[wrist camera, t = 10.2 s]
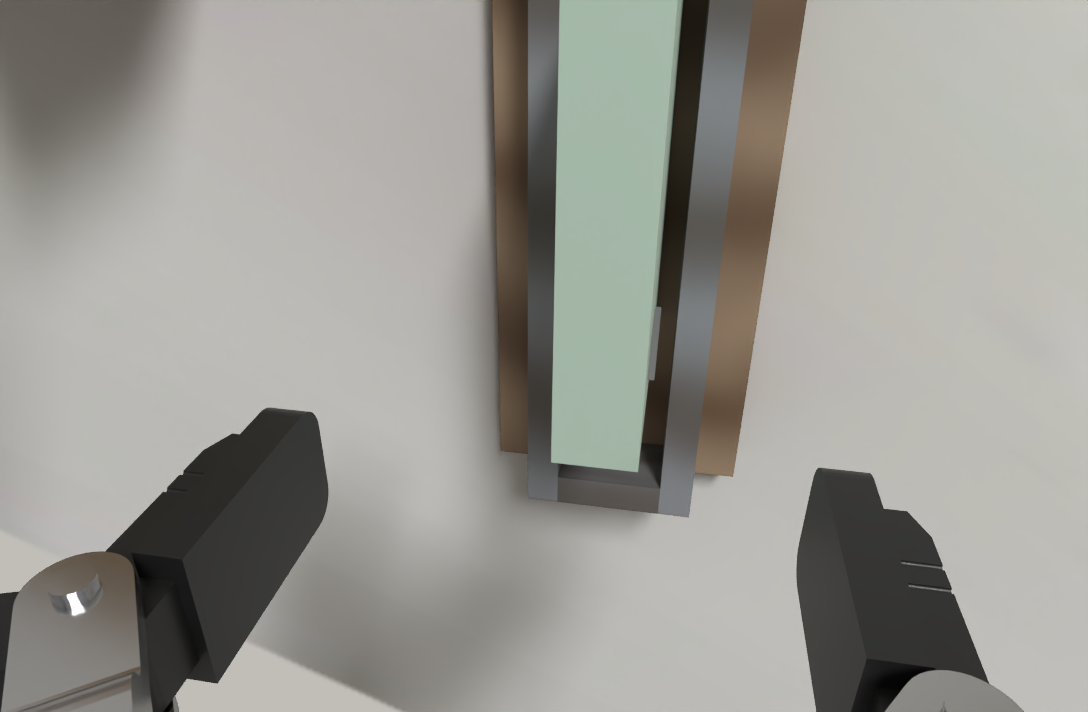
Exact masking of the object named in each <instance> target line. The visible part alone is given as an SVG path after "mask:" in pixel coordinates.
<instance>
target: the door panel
mask: <svg viewBox="0 0 1088 712" xmlns="http://www.w3.org/2000/svg"><path fill="white" fill-rule="evenodd" d="M683 1H684V0H560V7H559V61H558V115H557V169H556V223H555V277H554V331H553V385H552V438H551V462H552V463H560V464H569V465H578V466H587V467H596V468H604V469H613V470H622V471H631V472H638V467H639V459H640V450H641V441H642V433H643V424H644V416H645V407H646V398H647V390H648V381H649V380H654V378H655V368H656V358H657V349H658V339H659V328H660V317H661V307H657V299H658V287H659V276H660V264H661V253H662V242H663V230H664V219H665V207H666V196H667V184H668V173H669V161H670V150H671V139H672V127H673V116H674V104H675V93H676V81H677V70H678V58H679V47H680V36H681V24H682V13H683Z"/></svg>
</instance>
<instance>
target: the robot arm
mask: <svg viewBox="0 0 1088 712" xmlns="http://www.w3.org/2000/svg"><path fill="white" fill-rule="evenodd" d="M327 502H328V482H327V476H326V469H325V463H324V456H323V450H322V443H321V437H320V431H319V425H318V421H317V418H316V416H315V415H314V414H313V413H312V412H305V411H296V410H286V409H277V408H266V409H264V410H263V411H261V412H260V413H259V414H258V416H257V417H256V418H255V419H254V420H253V421H252V422H251V423H250V424H249V425H248V426H247V427H246V428H245V430H244V431H243V432H242V433H241V434H240V435H239V434H231V435H229V436H228V437H226V438H224V439H222V440H221V441H219V442H217V443H215V444H214V445H212V446H210V447H208V448H207V449H205V450H203V451H202V452H201V453H200V454H199V455H198V456H197V457H196V459H195V460H194V461H193V462H192V463H191V464H190V465H189V466H188V467H187V468H186V469H185V470H184V473H183V475H179V476H178V477H177V478H176V479H175V480H174V481H173V482H172V483H171V484H170V485H169V486H168V487H167V492H163V493H162V494H161V495H160V496H159V497H158V498H157V499H156V500H155V501H154V502H153V503H152V504H151V505H150V506H149V507H148V508H147V509H146V510H145V511H144V512H143V513H142V514H141V515H140V516H139V517H138V518H137V519H136V520H135V521H134V522H133V524H132V525H131V526H130V527H129V528H128V529H127V530H126V531H125V532H124V533H123V534H122V535H121V536H120V537H119V538H118V539H117V540H116V541H115V542H114V543H113V544H112V545H111V546H110V547H109V548H108V549H107V550H106V551H105V552H90V553H84V554H80V555H75V556H72V557H69V558H66V559H64V560H62V561H59V562H57V563H55V564H53V565H51V566H49V567H47V568H46V569H44V570H43V571H41V572H39V573H38V574H37V575H36V576H34V577H33V578H32V579H31V580H29V582H27V583H26V584H25V585H24V586H23V588H22V589H21V590H20V592H12V593H2V594H0V712H179V707H178V703H177V700H176V697H175V695H176V693H177V692H178V690H179V689H180V687H181V686H182V685H183V683H184V682H185V680H186V679H193V680H199V681H205V682H211V683H218V682H219V680H220V679H221V677H222V676H223V674H224V673H225V671H226V670H227V668H228V666H229V665H230V663H231V662H232V660H233V659H234V657H235V655H236V654H237V652H238V651H239V649H240V648H241V646H242V645H243V643H244V642H245V640H246V639H247V637H248V635H249V634H250V632H251V631H252V629H253V628H254V626H255V625H256V623H257V622H258V620H259V618H260V617H261V615H262V614H263V612H264V611H265V609H266V608H267V606H268V605H269V603H270V601H271V600H272V598H273V597H274V595H275V594H276V592H277V591H278V589H279V588H280V586H281V584H282V583H283V581H284V580H285V578H286V577H287V575H288V574H289V572H290V570H291V569H292V567H293V566H294V564H295V563H296V561H297V560H298V558H299V557H300V555H301V553H302V552H303V550H304V549H305V547H306V546H307V544H308V543H309V541H310V540H311V538H312V536H313V535H314V533H315V532H316V530H317V529H318V527H319V526H320V524H321V522H322V520H323V517H324V515H325V511H326V508H327ZM942 566H943V565H942V562H941V560H940V557H939V555H938V552H937V550H936V547H935V545H934V542H933V539H932V537H931V536H930V535H929V534H928V533H927V532H926V531H925V530H924V529H923V528H922V527H921V526H920V525H919V524H918V522H917V521H916V520H915V519H914V518H913V517H912V516H911V515H910V514H909V513H908V512H907V511H898V510H890V509H883V505H882V502H881V499H880V496H879V493H878V490H877V487H876V484H875V481H874V478H873V476H872V475H871V474H870V473H863V472H854V471H844V470H835V469H826V468H818V469H817V470H816V472H815V475H814V478H813V482H812V487H811V492H810V496H809V501H808V505H807V510H806V515H805V519H804V524H803V528H802V533H801V538H800V542H799V547H798V555H797V588H798V595H799V602H800V608H801V614H802V621H803V627H804V634H805V640H806V647H807V653H808V660H809V666H810V673H811V679H812V686H813V692H814V699H815V705H816V712H1024V711H1023V710H1022V709H1021V708H1020V707H1019V706H1018V705H1017V704H1016V703H1015V702H1014V701H1013V700H1012V699H1011V698H1009V697H1008V696H1007V695H1006V694H1004V693H1003V692H1001V691H1000V690H998V689H997V688H995V687H994V686H992V685H990V684H989V682H988V680H987V677H986V675H985V672H984V669H983V667H982V664H981V662H980V659H979V657H978V654H977V652H976V649H975V646H974V644H973V641H972V639H971V636H970V634H969V631H968V629H967V626H966V624H965V621H964V618H963V616H962V613H961V611H960V608H959V606H958V603H957V601H956V598H955V596H954V594H952V593H951V589H952V588H951V585H950V583H949V580H948V578H947V575H946V573H945V571H943V570H942Z"/></svg>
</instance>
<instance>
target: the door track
mask: <svg viewBox="0 0 1088 712" xmlns="http://www.w3.org/2000/svg"><path fill="white" fill-rule="evenodd" d="M806 2H807V0H684V1H683V13H682V24H681V36H680V47H679V58H678V70H677V81H676V93H675V104H674V116H673V127H672V139H671V150H670V161H669V173H668V184H667V196H666V207H665V219H664V230H663V242H662V253H661V264H660V276H659V287H658V299H657V307H661V317H660V328H659V339H658V349H657V358H656V368H655V378H654V380H649V381H648V390H647V398H646V407H645V416H644V424H643V433H642V441H641V450H640V459H639V467H638V472H631V471H622V470H613V469H604V468H596V467H587V466H578V465H569V464H560V463H552V462H551V438H552V385H553V331H554V277H555V223H556V169H557V115H558V61H559V7H560V0H492V24H493V75H494V126H495V177H496V228H497V279H498V330H499V382H500V433H501V451H508V452H517V453H526V454H528V498H532V499H541V500H549V501H557V502H566V503H574V504H582V505H590V506H599V507H607V508H615V509H623V510H632V511H640V512H648V513H657V514H665V515H673V516H681V517H689V512H690V504H691V496H692V488H693V480H694V472H695V473H704V474H713V475H722V476H731V477H733V473H734V467H735V460H736V454H737V447H738V441H739V434H740V428H741V421H742V415H743V409H744V402H745V396H746V389H747V383H748V376H749V370H750V363H751V357H752V350H753V344H754V338H755V331H756V325H757V318H758V312H759V305H760V299H761V292H762V286H763V280H764V273H765V267H766V260H767V254H768V247H769V241H770V234H771V228H772V222H773V215H774V209H775V202H776V196H777V189H778V183H779V176H780V170H781V163H782V157H783V151H784V144H785V138H786V131H787V125H788V118H789V112H790V105H791V99H792V93H793V86H794V80H795V73H796V67H797V60H798V54H799V47H800V41H801V35H802V28H803V22H804V15H805V9H806Z"/></svg>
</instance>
